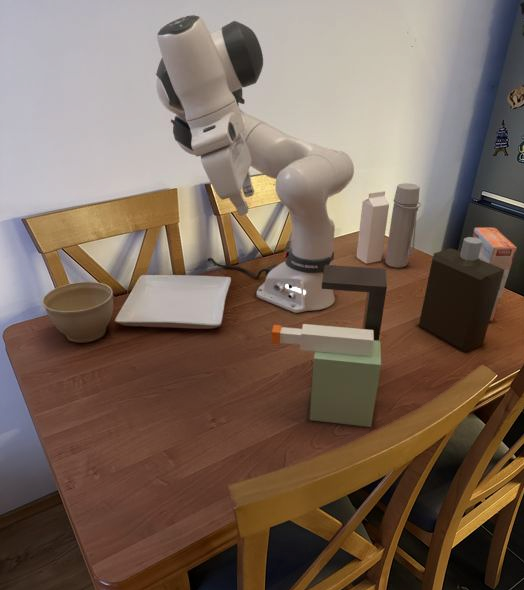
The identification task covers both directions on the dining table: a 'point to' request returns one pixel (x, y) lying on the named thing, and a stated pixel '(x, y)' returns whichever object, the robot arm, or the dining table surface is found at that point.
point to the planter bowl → (80, 310)
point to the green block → (345, 387)
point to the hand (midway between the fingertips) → (247, 204)
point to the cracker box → (495, 255)
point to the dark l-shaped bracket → (361, 290)
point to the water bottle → (402, 225)
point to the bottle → (460, 295)
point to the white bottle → (326, 339)
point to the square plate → (175, 302)
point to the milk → (372, 228)
